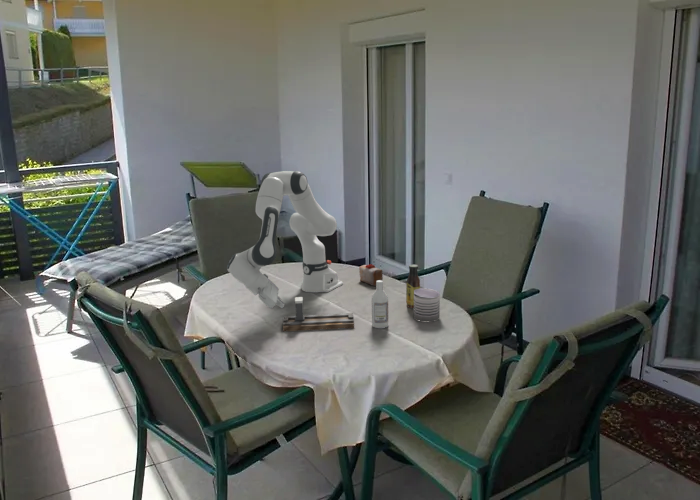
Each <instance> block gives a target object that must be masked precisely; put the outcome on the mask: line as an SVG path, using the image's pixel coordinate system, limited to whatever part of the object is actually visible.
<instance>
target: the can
mask: <svg viewBox="0 0 700 500" xmlns="http://www.w3.org/2000/svg"><path fill="white" fill-rule="evenodd" d="M440 296H441V295H440V291H438V290H435V289H432V288H425V287H420V289H416V290H414V308H413V319H414V320H415V319H417V320H420V321H434V320H437V319H438V318H439V319H440V316H441V315H440V314H441V313H440V312H441V311H440V310H441V308H440V305H441V303H440V302H441V301H440V300H441V297H440ZM439 319H438V320H439ZM417 320H416V321H417ZM438 320H437V321H438ZM420 321H419V322H420ZM434 322H435V321H434Z"/></svg>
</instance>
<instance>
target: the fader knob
mask: <svg viewBox="0 0 700 500" xmlns="http://www.w3.org/2000/svg"><path fill="white" fill-rule="evenodd" d="M303 298H304V297H303V296H296V297H294V304H295V307H294V308H295V315H294V316H295V322H298V321H305V318H304V316H303V315H304V303H303V301H304V299H303Z"/></svg>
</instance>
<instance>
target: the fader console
mask: <svg viewBox="0 0 700 500" xmlns="http://www.w3.org/2000/svg"><path fill="white" fill-rule="evenodd" d="M295 316H296V315H287V316H286V315H284V316H283V317H282V318H283V319H282V329H283V330H282V332H298V331H317V330H319V331H321V330H320V329H324V330H339V329H338V328H345V329H355V320H354V313H353V312H352V313H351V312H350V313H332V314H331V313H330V314H329V313H327V314H305V315H304V314H303V316H304V318H305V321H298V322H295Z"/></svg>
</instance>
